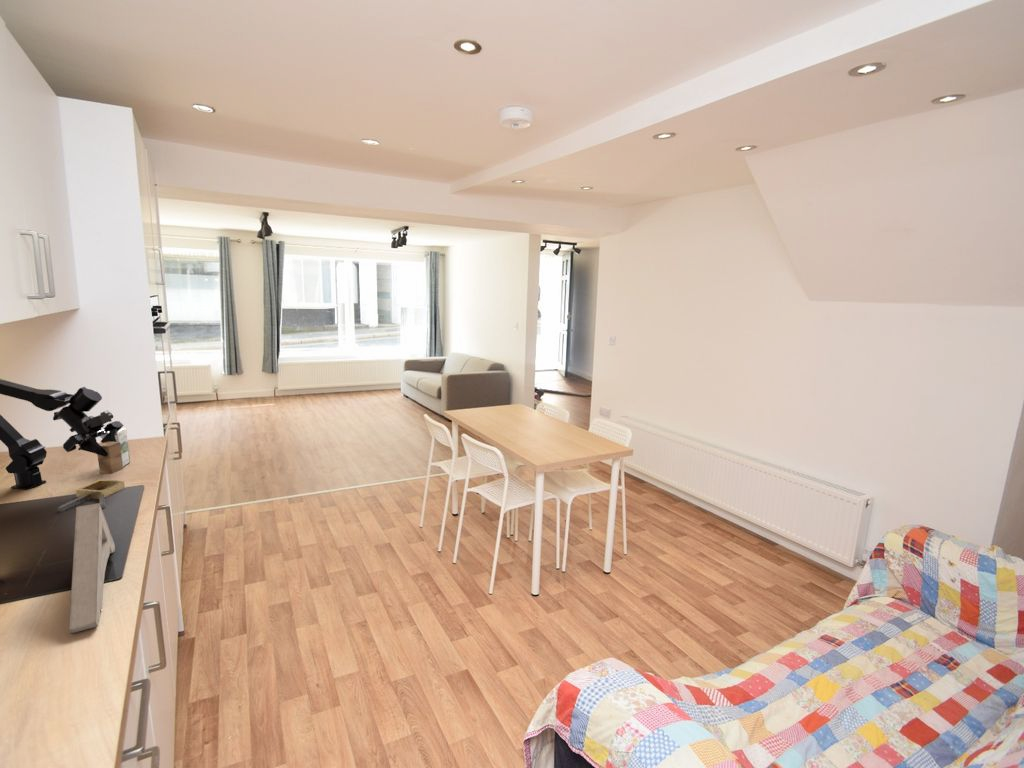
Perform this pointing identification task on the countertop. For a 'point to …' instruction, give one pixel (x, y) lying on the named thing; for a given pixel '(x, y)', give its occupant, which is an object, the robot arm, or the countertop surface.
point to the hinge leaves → (94, 492)
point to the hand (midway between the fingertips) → (113, 453)
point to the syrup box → (123, 445)
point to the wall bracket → (89, 566)
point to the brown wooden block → (110, 458)
